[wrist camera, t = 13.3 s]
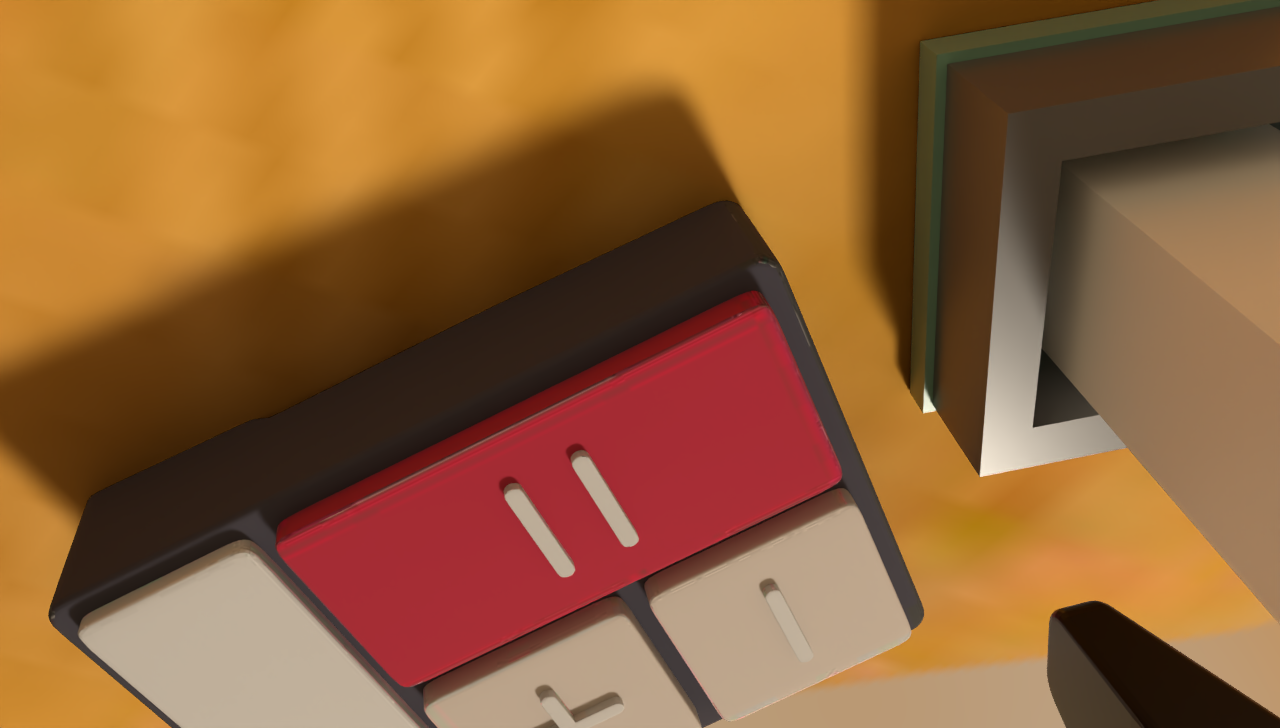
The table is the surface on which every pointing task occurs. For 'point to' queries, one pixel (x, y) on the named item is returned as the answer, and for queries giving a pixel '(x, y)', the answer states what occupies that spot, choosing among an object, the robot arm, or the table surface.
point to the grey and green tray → (1049, 192)
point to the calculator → (516, 522)
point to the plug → (1182, 326)
